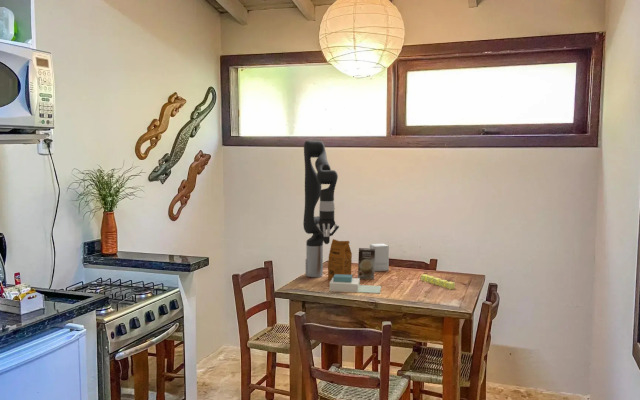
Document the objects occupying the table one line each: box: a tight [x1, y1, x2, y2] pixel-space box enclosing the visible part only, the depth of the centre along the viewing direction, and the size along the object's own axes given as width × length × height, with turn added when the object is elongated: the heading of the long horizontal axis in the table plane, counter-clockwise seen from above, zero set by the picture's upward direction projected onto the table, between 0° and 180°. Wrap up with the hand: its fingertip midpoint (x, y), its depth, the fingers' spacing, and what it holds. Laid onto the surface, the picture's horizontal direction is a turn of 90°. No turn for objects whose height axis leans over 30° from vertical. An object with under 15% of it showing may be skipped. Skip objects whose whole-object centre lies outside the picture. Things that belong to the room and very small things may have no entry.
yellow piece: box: [420, 273, 456, 290], centre depth 277 cm, size 32×32×3 cm
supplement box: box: [369, 243, 390, 272], centre depth 310 cm, size 9×9×15 cm
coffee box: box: [357, 247, 375, 280], centre depth 288 cm, size 9×6×16 cm
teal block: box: [333, 274, 353, 282], centre depth 265 cm, size 9×6×2 cm, turn 81°
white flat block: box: [328, 277, 361, 293], centre depth 265 cm, size 14×13×4 cm
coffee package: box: [327, 238, 353, 281], centre depth 282 cm, size 10×12×22 cm
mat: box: [357, 284, 382, 295], centre depth 263 cm, size 11×14×1 cm
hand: (326, 243), depth 265 cm, fingers closed
